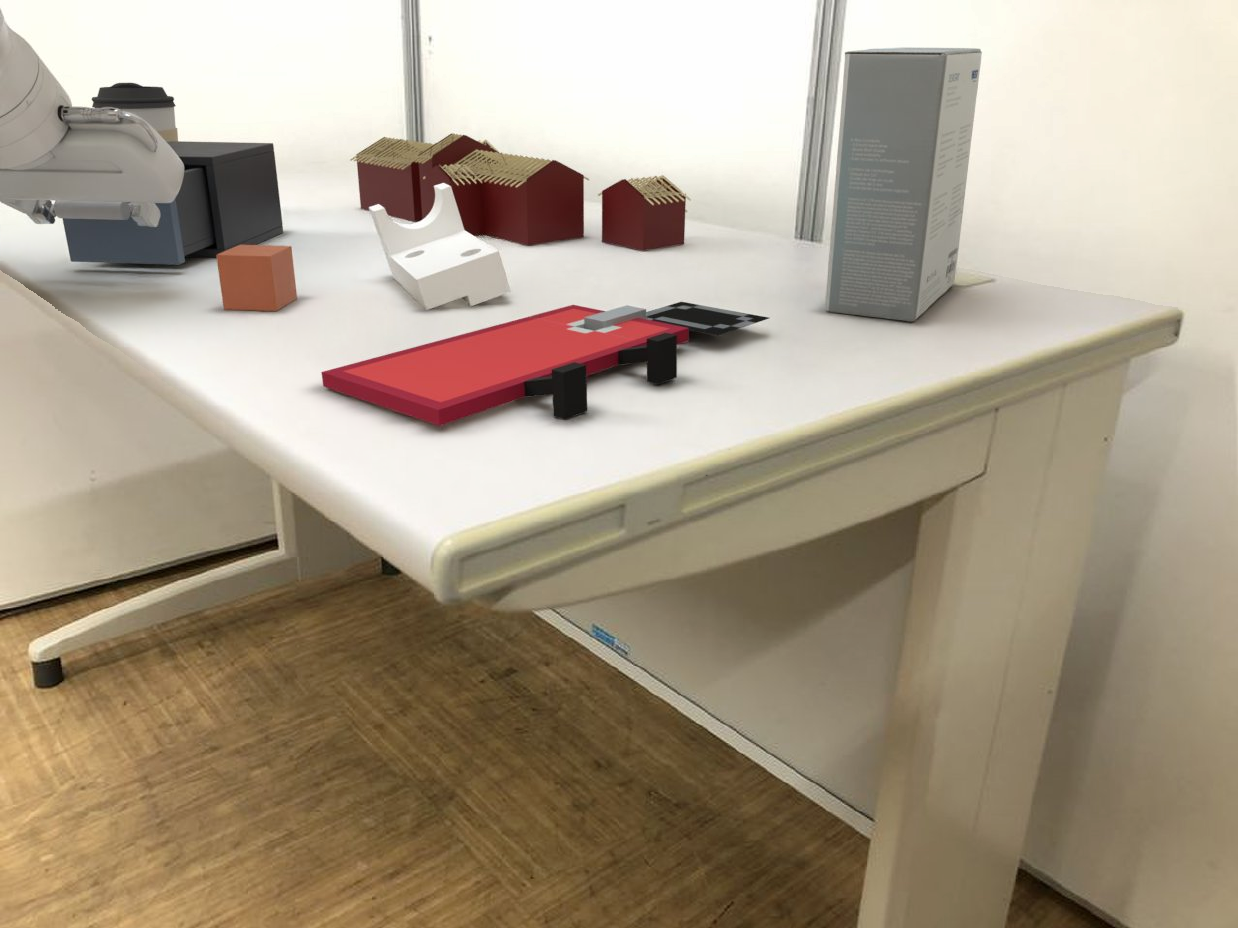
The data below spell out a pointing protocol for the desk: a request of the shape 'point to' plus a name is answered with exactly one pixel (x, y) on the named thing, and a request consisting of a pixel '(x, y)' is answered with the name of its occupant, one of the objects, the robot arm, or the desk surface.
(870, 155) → the hard drive box
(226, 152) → the cabinet
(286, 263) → the block
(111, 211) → the drawer
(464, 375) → the red board with handle
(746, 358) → the desk surface
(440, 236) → the bracket
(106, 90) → the coffee cup
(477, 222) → the toy houses
